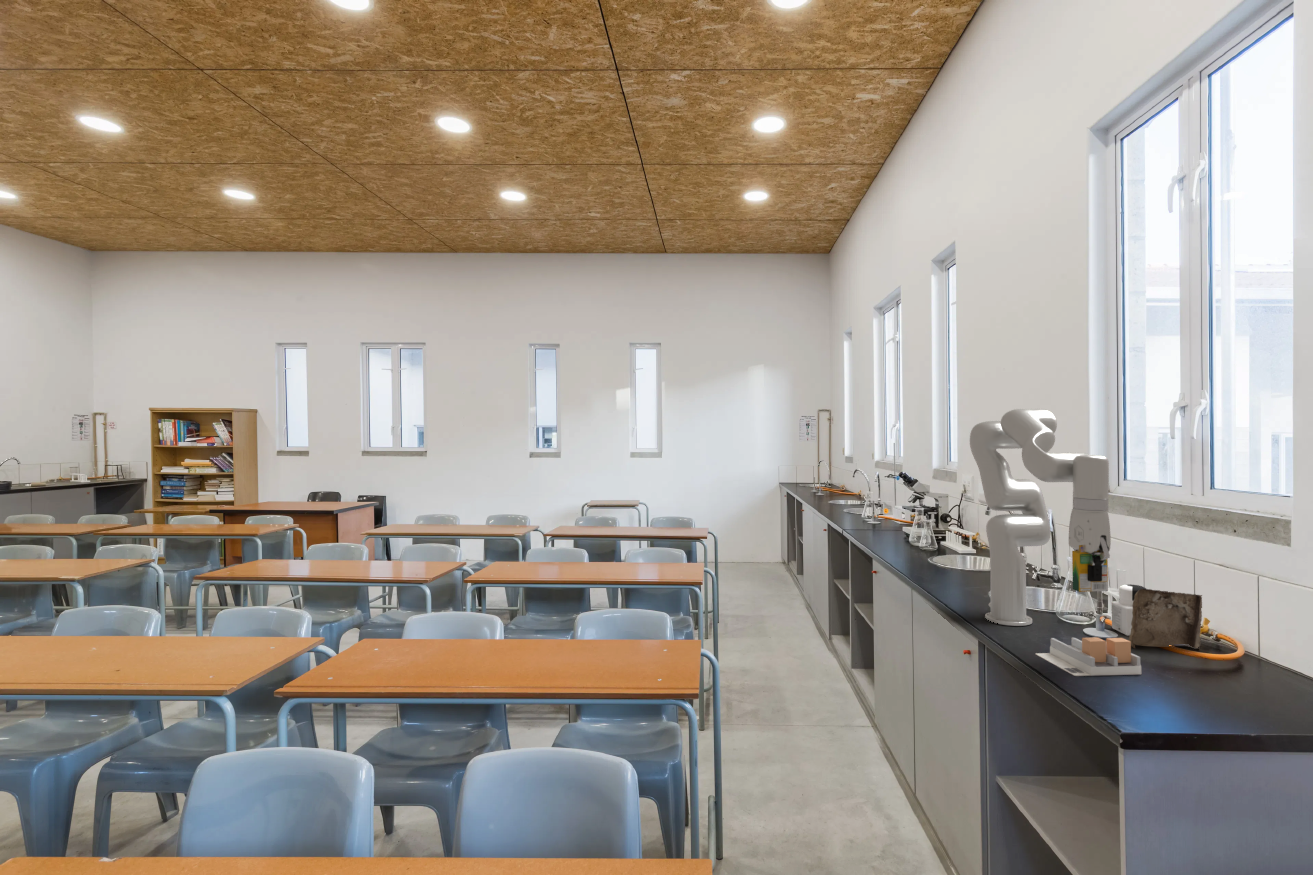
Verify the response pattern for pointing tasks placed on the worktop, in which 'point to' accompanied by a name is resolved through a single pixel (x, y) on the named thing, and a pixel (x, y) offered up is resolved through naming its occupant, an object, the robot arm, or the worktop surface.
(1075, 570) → the crayon box
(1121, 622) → the container
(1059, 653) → the white divided tray
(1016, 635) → the worktop surface
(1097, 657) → the tan rectangular block
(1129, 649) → the light orange block
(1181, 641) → the mineral sample
